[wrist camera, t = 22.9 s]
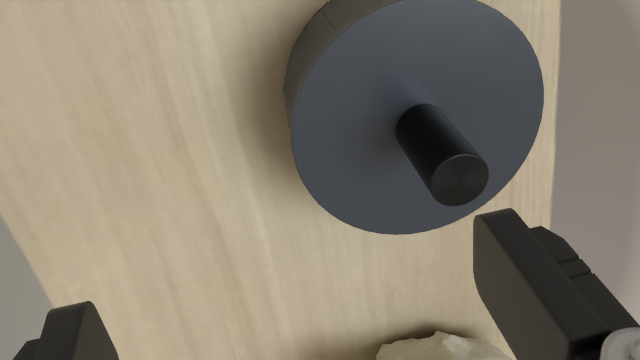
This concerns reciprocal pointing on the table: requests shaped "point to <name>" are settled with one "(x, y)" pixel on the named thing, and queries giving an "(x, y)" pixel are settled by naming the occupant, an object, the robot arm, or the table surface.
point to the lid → (416, 114)
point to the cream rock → (441, 349)
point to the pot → (319, 41)
